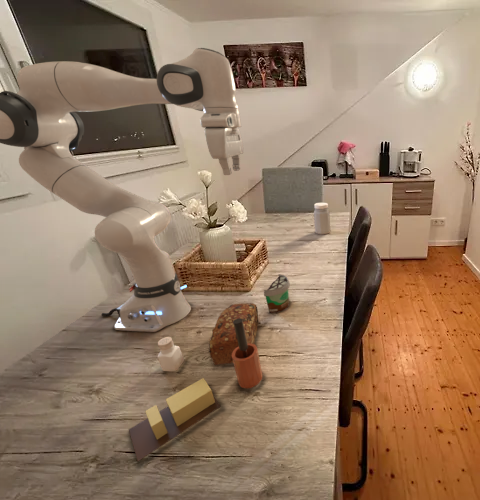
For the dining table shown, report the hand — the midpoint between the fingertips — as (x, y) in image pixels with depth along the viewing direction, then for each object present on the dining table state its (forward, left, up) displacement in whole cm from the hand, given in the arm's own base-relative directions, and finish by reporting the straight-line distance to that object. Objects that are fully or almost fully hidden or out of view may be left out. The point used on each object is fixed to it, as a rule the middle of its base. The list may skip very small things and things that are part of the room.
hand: (232, 172), depth 82 cm
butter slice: (-11, -44, -47) cm, 65 cm away
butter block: (-6, -39, -47) cm, 61 cm away
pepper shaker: (-17, -26, -48) cm, 57 cm away
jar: (+24, +78, -48) cm, 95 cm away
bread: (-2, -18, -48) cm, 51 cm away
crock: (+5, -33, -48) cm, 58 cm away
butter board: (-9, -42, -48) cm, 64 cm away
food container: (+9, 0, -48) cm, 49 cm away
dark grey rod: (+5, -33, -47) cm, 58 cm away
